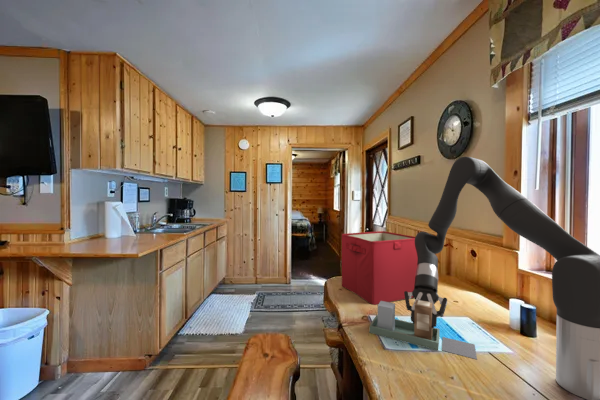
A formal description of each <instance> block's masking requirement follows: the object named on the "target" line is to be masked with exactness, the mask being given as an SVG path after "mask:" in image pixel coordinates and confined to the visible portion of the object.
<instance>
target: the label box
mask: <svg viewBox="0 0 600 400" xmlns="http://www.w3.org/2000/svg"><path fill="white" fill-rule="evenodd" d="M414 302H415V301H414ZM414 336H416V337H420V338H424V339H428V340H432V303H430V302H428V301H423V300H416V302H415V324H414Z"/></svg>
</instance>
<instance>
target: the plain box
mask: <svg viewBox="0 0 600 400" xmlns="http://www.w3.org/2000/svg"><path fill="white" fill-rule="evenodd" d="M377 315H378V322H377V327H379V328H383V329H387V330H391V331H394V329H395V319H396V302H395V303H394V302H385V301H380V303H379V304H377Z"/></svg>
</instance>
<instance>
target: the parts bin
mask: <svg viewBox="0 0 600 400" xmlns="http://www.w3.org/2000/svg"><path fill="white" fill-rule="evenodd" d="M377 322H378V314H375V317H373V320H372V321H371V322H370V324H369V329H368V330H369V334H374V335H377V336H381V337H384V338H388V339H392V340H396V341H401V342H403V343H408V344H411V345H415V346H418V347H423V348H427V349H430V350H434V351H439V344H440V330H441V329H440V328H436V327H434V328H432V340H428V339H424V338H420V337H416V336H414V324H413V322H412V321H411V322H410V321H405V320H401V319H396V318H395V329H394V331H391V330H387V329H383V328H379V327H377Z"/></svg>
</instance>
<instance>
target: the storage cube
mask: <svg viewBox="0 0 600 400" xmlns="http://www.w3.org/2000/svg"><path fill="white" fill-rule="evenodd" d="M415 237H416V236H412V235H407V234H406V235H405V234H402V233H397V232H396V233H395V232H391V231H385V230H383V231H378V230H377V231H364V232H363V231H362V232H350V233H349V232H348V233H341V287H342V288H345V289H346V290H348V291H351V292H352V293H353V294H354V295H357V296H358V297H360V298H362V299H363V300H364V301H365V302H367V303H369V304H370V305H372V306H378V304H379V303H380V301H385V302H390V303H394V302H397V301H404V300H405V295H404V292H405V291H407V292H412V291H413V290H414V284H415V274H416V269H417V261H418V257H417V252H416V248H415ZM411 299H414V297H413V296H411Z"/></svg>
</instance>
